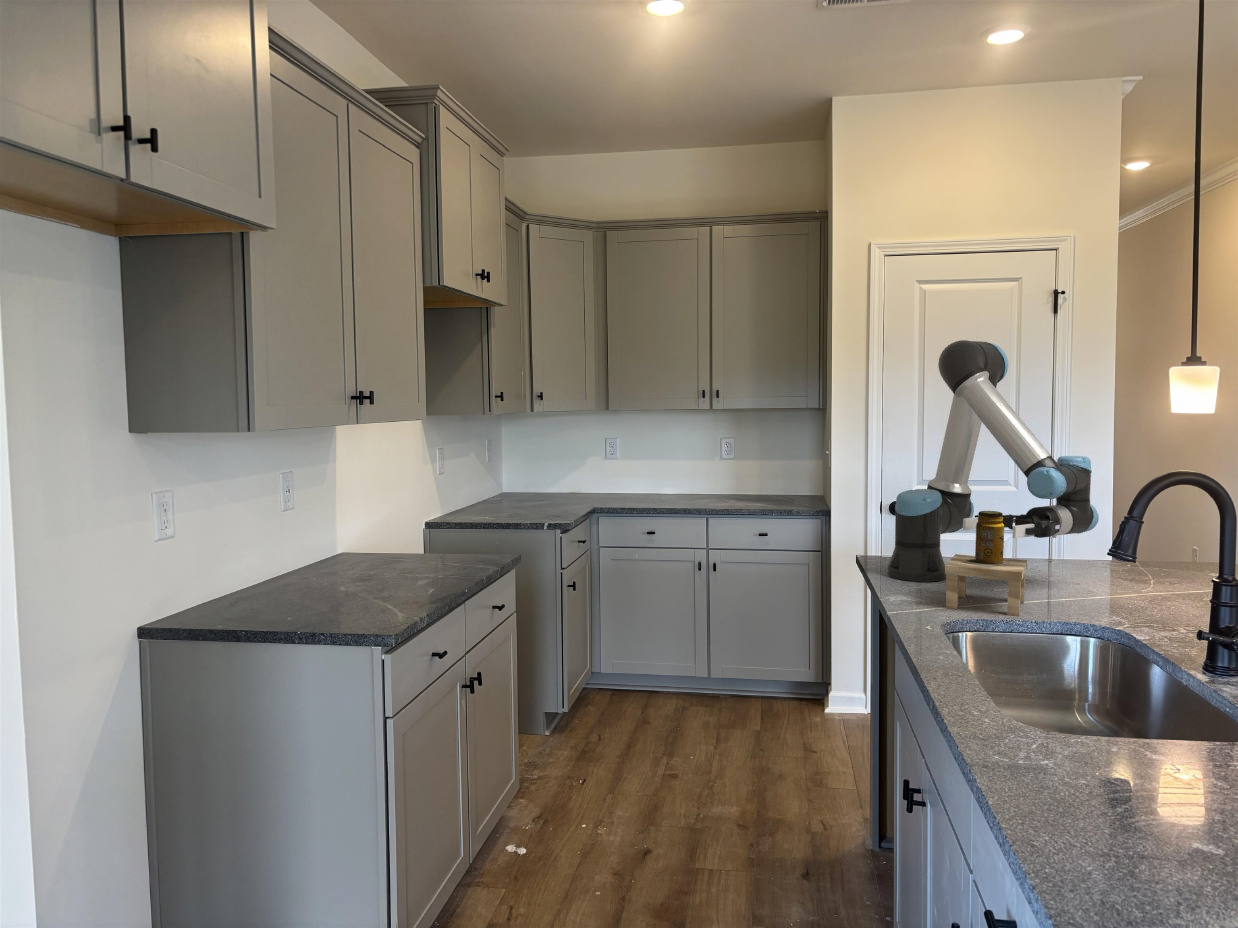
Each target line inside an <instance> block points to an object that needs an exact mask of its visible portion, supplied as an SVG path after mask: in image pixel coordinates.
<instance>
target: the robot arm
mask: <svg viewBox="0 0 1238 928" xmlns="http://www.w3.org/2000/svg"><path fill="white" fill-rule="evenodd" d="M937 365H938V366H937V367H938V372H939V375H940V376H941V378H942V380H943V381H944V383H945V384H946V385H947V387H948V388H949V390H950V391H951V392H952V393H953V397H952V402H951V406H950V411H949V414H948V419H947V424H946V428H945V433H944V437H943V442H942V445H941V451H940V454H939V455H940V456H939V460H938V464H937V469H936V473H935V476H934V478H932V479H931V480H929V481H928V482H927V483H928V484H927V486H926V488H916V489H908V490H904V491H901V492H900V493H899V494H897V496H896V499H895V500H896V501H895V505H894V506H895V507H894V510H895V512H894V513H895V518H894V520H895V523H894V524H895V527H894V529H895V530H894V532H895V533H894V534H895V535H894V536H895V537H894V539H895V540H894V549H893V551H892V555H891V557H890V560H889V563H888V566H887V575H888V576H889V577H891V578H893V579H898V580H903V581H909V582H922V583H923V582H927V583H929V582H940V581H945V580H946V578H947V574H945V565H946V563H945V561H944V559H943V558H944V557H943V555H942V551H941V535H943V534H950V533H951V534H953V533H955V532H958V531H960V530H963V531H971V530H976V524H977V522H978V517H979V515H978V514H975V515H974V511H975V510H974V509H975V508H974V506H975V505H974V503H973V501H972V498H971V495H972V489H971V487H970V486H969V485H968V484H969V478H970V476H971V475H970V474H971V471H972V465H973V461H974V457H975V452H976V449H977V445H978V440H979V436H980V431H981V427H982V424H983V425H984V427H985V428H986V429H987V430H988V431H989V433H990V434H991V435H992V437H993V438H994V439H995V440H996V442H997V443H998V444H999V445H1000V447H1001V448H1002V449H1003V450H1004V451H1005V452H1006V454H1007V455H1008V456H1009V458H1010V459H1011V460H1012V461H1013V463H1014V464H1015V465H1016V466H1017V468H1018V469H1019V470H1020V471H1021V472H1022V474H1023V476H1025V478H1026V484H1027V485H1026V486H1027V490H1028V491H1029V493H1030V494H1032V496H1034V497H1036V498H1039V499H1042V500H1053V499H1055V504H1052V505H1045V506H1036V507H1032V508H1030V509H1029V510H1028V511H1027V512H1026V513H1024V514H1020V515H1018V514H1016V515H1014V514H1011V513H1010V514H1003V522H1002V523H1003V524H1004V529H1005V528H1006V529H1007V528H1008V529H1009V530H1010V531H1011V530H1012V539H1021V538H1027V537H1028V538H1029V537H1034V538H1037V539H1042V538H1043V539H1044V538H1051V537H1052V538H1053V539H1057V536H1064V535H1065V536H1066V535H1072V534H1073V535H1074V534H1078V535H1079V534H1083V533H1086V532H1090V531H1091V530H1093V529H1095V528H1096V526H1097V525H1098V524H1099V520H1100V519H1099V513H1098V511H1097V509H1096V507H1095V506H1094V505H1092V504H1091V482H1092V479H1091V477H1092V473H1093V472H1092V464H1091V463H1092V462H1091V459H1090V458H1089V457H1088V456H1081V455H1061V456H1059V457H1058V458H1057V460H1055V458H1054V457H1053V456H1052V455H1051V453H1050V452H1049V450H1047V448H1045V446H1044V445H1043V444H1042V443H1041V441H1040V440H1039V439H1038V438H1037V436H1036V435H1035V434H1034V433H1033V431H1031V429H1030V428H1029V427H1028V426H1027V424H1026V423H1025V422H1024V421H1023V420H1022V418H1021V417H1020V416H1019V414H1018V413H1017V412H1016V411H1015V410H1014V408H1013V407H1012V406H1011V405H1010V404H1009V403H1008V401H1007V400H1006V399H1005V397H1003V395H1002V394H1001V393H1000V392H999V391H998V389H997V387H998V386H997V385H998V384H999V383H1000V382H1001V381H1003V379H1004V378H1005V377H1006V375H1007V373H1008V370H1009V360H1008V356H1007V354H1006V352H1005V351H1004V350H1003V349H1002V348H1001V346H1000V345H999V346H998V345H997V344H995V343H992V342H988V341H979V340H978V341H977V340H965V339H962V340H957V341H954V342H951V343H950V344H949V345H947V346H946V347H945V348H944V349H943V350H942V352H941V353H940V355H939V358H938V364H937ZM973 516H974V517H973Z"/></svg>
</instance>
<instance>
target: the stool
mask: <svg viewBox="0 0 1238 928" xmlns="http://www.w3.org/2000/svg"><path fill="white" fill-rule="evenodd" d="M970 559H976V558H975V555H968V554H957V553H954V555H953V556H952V557H951V559H950V560H949V561H948V562H947V563H945V574H946V579H945V581H946V583H945V585H946V586H945V587H946V588H945V609H951V610H952V609H954V610H958V608H959V598H966V595H967V577H971V578H973V577H974V578H982V579H983V578H985V579H993V580H1005V581H1007V609H1006V613H1007V615H1008V616H1015V617H1020V615H1021V604H1022V605H1023V604H1024V603H1025V593H1026V592H1025V590H1026V589H1025V586H1026V571H1027V569H1028V560H1027V559H1019V558H1018V559H1017V558H1005V557H1003V561H1005V562H1011V563H1007V564H1003V565H995V566H990V567H989V566H983V565H977V564H971V563H967V562H964V561H963V560H970Z"/></svg>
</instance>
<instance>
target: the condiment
mask: <svg viewBox="0 0 1238 928" xmlns="http://www.w3.org/2000/svg"><path fill="white" fill-rule="evenodd" d="M977 515H979V517H978V522H977V524H976V529H975V549H974V550H975V552H974V553H975V554H974V556H975V558H976V559H970V560H963V561H964V562H967V563H971V564H977V565H983V566H989V567H990V566H995V565H1003V564H1007V563H1011V562H1005V561H1003V558H1004V548H1005V547H1004V543H1005V541H1004V540H1005V528H1004V524H1003V523H1002V522H1003V515H1004V514H1003V512H1002V511H998V510H981V511H978V514H977Z"/></svg>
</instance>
